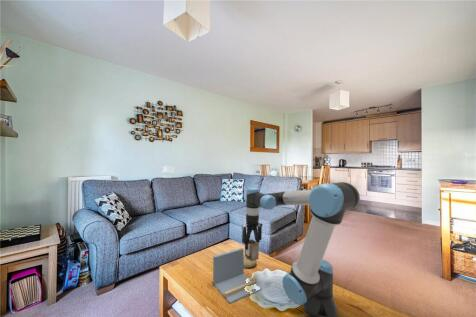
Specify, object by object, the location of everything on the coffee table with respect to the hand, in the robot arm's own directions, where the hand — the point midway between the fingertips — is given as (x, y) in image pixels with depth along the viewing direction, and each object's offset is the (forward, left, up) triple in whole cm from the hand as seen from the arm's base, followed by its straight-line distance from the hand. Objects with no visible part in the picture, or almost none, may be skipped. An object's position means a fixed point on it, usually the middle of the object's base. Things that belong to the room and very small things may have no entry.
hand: (251, 253), depth 115 cm
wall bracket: (+1, +10, -17) cm, 19 cm away
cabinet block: (0, 0, -2) cm, 2 cm away
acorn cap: (+17, -10, -17) cm, 26 cm away
